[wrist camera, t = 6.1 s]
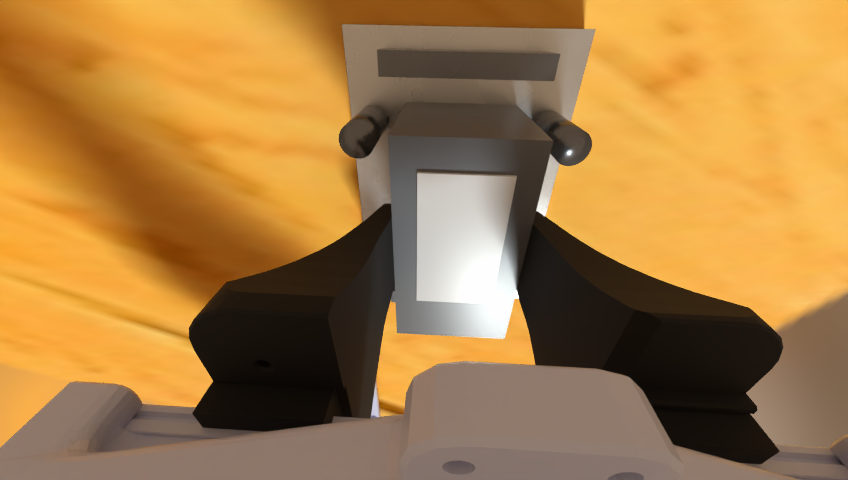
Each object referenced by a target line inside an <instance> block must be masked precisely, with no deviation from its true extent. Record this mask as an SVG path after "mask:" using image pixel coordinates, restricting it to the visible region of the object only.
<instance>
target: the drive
mask: <svg viewBox="0 0 848 480" xmlns="http://www.w3.org/2000/svg"><path fill="white" fill-rule="evenodd" d="M552 145H553V140H552V139H551V138H550V137H549V136H548V135H547V134H546V133H545V132H544V131H543V130H542V129H541V128H540V127H539V126H538V125H537V124H536V123H535V122H534V121H533V120H532V119H531V118H530V117H529V116H528V115H526V114H525V113H524V112H523V111H522V110H521V109H520V108H519V107H518V106H517V105H507V104H472V103H436V102H406V103H405V105H404V107H403V109H402V111H401V113H400V114H399V116H398V118H397V120H396V122H395V124H394V125H393V127H392V129H391V131H390V133H389V134H388V146H389V168H390V189H391V211H392V233H393V254H394V276H395V297H396V319H397V333H407V334H425V335H444V336H462V337H481V338H500V339H505V335H506V331H507V327H508V323H509V319H510V315H511V311H512V307H513V303H514V298H515V294H516V290H517V286H518V282H519V278H520V274H521V270H522V265H523V261H524V257H525V253H526V249H527V245H528V241H529V237H530V233H531V229H532V225H533V222H534V218H535V214H536V210H537V206H538V202H539V198H540V194H541V190H542V185H543V181H544V177H545V173H546V169H547V165H548V161H549V157H550V153H551V149H552Z"/></svg>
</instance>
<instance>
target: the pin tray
mask: <svg viewBox="0 0 848 480" xmlns="http://www.w3.org/2000/svg"><path fill="white" fill-rule="evenodd" d="M342 32H343V41H344V50H345V60H346V69H347V78H348V88H349V97H350V107H351V116H352V119H351V120H350V121H349V122H348V123H347V124H346V125H345V126H344V127H343V128H342V129H341V131H340V134H339V143H340V146H341V148H342V150H343V151H344V152H345V153H346V154H347V155H349V156H350V157H353V158H356V163H357V172H358V181H359V191H360V200H361V209H362V219H363V221H365V220H366V219H367V218H368V217H369V216H371V215H372V214H373V213H374V212H375V211H376V210H377V209H379V208H380V207H381V206H382V205H383V204H384V203H387V204H391V189H390V168H389V146H388V134H389V133H390V131H391V129H392V127H393V125H394V124H395V122H396V120H397V118H398V116H399V114H400V113H401V111H402V109H403V107H404V105H405V103H406V102H436V103H472V104H507V105H517V106H518V107H519V108H520V109H521V110H522V111H523V112H524V113H525V114H526V115H528V116H529V117H530V118H531V119H532V120H533V121H534V122H535V123H536V124H537V125H538V126H539V127H540V128H541V129H542V130H543V131H544V132H545V133H546V134H547V135H548V136H549V137H550V138H551V139H552V140H553V145H552V149H551V153H550V157H549V161H548V165H547V169H546V173H545V177H544V181H543V185H542V190H541V194H540V198H539V202H538V206H537V210H536V211H538V212H539V213H541V214H542V215H544V216H545V215H546V211H547V208H548V204H549V200H550V197H551V193H552V189H553V185H554V182H555V178H556V174H557V171H558V167H559V163H560V164H561V165H565V166H572V165H576V164H578V163H580V162H581V161H583V160H584V159H585V158H586V157H587V156H588V154H589V152H590V150H591V147H592V140H591V137H590V136H589V134H588V133H587V132H585V131H584V130H582V129H581V128H579V127H578V126H576V125H575V124H573V123H572V122H571V119H572V115H573V111H574V107H575V104H576V100H577V96H578V92H579V89H580V85H581V81H582V78H583V74H584V70H585V66H586V63H587V59H588V55H589V52H590V48H591V44H592V40H593V37H594V33H595V29H557V28H507V27H457V26H408V25H358V24H342ZM515 298H519V297H518V294H517V291H516V294H515ZM391 302H396V297H395V286H394V289H393V293H392V297H391Z"/></svg>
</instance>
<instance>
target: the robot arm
mask: <svg viewBox="0 0 848 480" xmlns="http://www.w3.org/2000/svg"><path fill="white" fill-rule="evenodd" d="M394 286H395V276H394V254H393V233H392V211H391V204H387V203H384V204H383V205H382V206H381V207H380V208H379V209H377V210H376V211H375V212H374V213H373V214H372V215H371V216H369V217H368V218H367V219H366V220H365V221H363V222H362V223H361V224H360V225H358V226H357V227H356V228H354V229H353V230H352V231H350V232H349V233H347V234H346V235H345V236H343V237H342V238H340V239H339V240H337V241H335V242H334V243H332V244H330V245H328V246H327V247H325V248H323V249H321V250H319V251H317V252H315V253H313V254H311V255H308V256H306V257H304V258H302V259H300V260H297V261H295V262H292V263H290V264H287V265H284V266H281V267H279V268H276V269H273V270H270V271H266V272H263V273H260V274H256V275H252V276H248V277H245V278H241V279H237V280H233V281H229V282H226V283H225V284H224V285H223V287H222V288H221V289H220V290H219V291H218V292H217V293H216V295H215V296H214V297H213V298H212V299H211V300H210V301H209V303H208V304H207V305H206V306H205V307H204V308H203V309H202V311H201V312H200V313H199V314H198V315H197V316H196V317H195V319H194V320H193V322H192V324H191V325H190V327H189V339H190V341H191V344H192V346H193V348H194V351H195V352H196V354H197V355H198V357H199V359H200V360H201V362H202V363H203V365H204V367H205V368H206V370H207V371H208V373H209V375H210V376H211V378H212V379H213V382H212V384H211V385H210V387H209V388H208V390H207V391H206V393H205V394H204V396H203V398H202V399H201V401H200V402H199V404H198V405H197V407H196V408H195V407H179V406H163V405H148V404H142V401H141V400H140V398H139V397H138V395H137V394H136V393H135V392H134V391H132V390H131V389H130V388H127V387H125V386H123V385H118V384H111V383H95V382H78V381H76V382H71V383H69V384H68V385H67V386H66V387H65V388H64V389H63V390H62V391H60V392H59V393H58V394H57V395H56V396H55V397H54V398H53V399H52V400H51V401H50V402H49V403H48V404H47V405H46V406H44V407H43V408H42V409H41V410H40V411H39V412H38V413H37V414H36V415H35V416H34V417H33V418H32V419H30V420H29V421H28V422H27V423H26V424H25V425H24V426H23V427H22V428H21V429H20V430H19V431H18V432H17V433H15V434H14V435H13V436H12V437H11V438H10V439H9V440H8V441H7V442H6V443H5V444H4V445H3V446H2V447H1V448H0V480H848V434H847V435H845V436H843V437H841V438H840V439H838V440H837V441H835V442H834V443H833V444H832V445H831V447H830V448H824V447H808V446H791V445H776V444H774V443H773V442H772V441H771V439H770V438H769V437H768V436H767V434H766V433H765V432H764V431H763V429H762V428H761V427H760V426H759V424H758V423H757V422H756V421H755V419H754V418H753V417H752V416H751V415H750V413H751V414H754V413H755V412H756V411H757V406H756V405H755V404H754V402H753V401H752V400H751V399H750V398H749V396H748V395H747V394H746V392H747V391H748V390H750V389H751V388H752V387H753V386H754V385H755V384H756V383H757V382H758V381H759V380H760V379H761V378H762V377H763V376H764V375H766V374H767V373H768V372H769V371H770V370H771V369H772V368H773V366H774V365H775V364H776V363H777V362H778V360H779V358H780V355H781V353H782V349H783V344H782V339H781V337H780V336H779V335H778V334H777V333H776V332H775V331H774V330H773V329H772V328H771V327H770V326H769V325H768V324H767V323H766V322H765V321H763V320H762V319H761V318H760V317H759V316H758V315H757V314H756V313H755V312H754V311H752V310H751V309H750V308H748V307H744V306H741V305H737V304H734V303H730V302H727V301H723V300H720V299H716V298H712V297H709V296H705V295H702V294H699V293H695V292H692V291H689V290H686V289H683V288H681V287H678V286H675V285H672V284H669V283H666V282H664V281H661V280H658V279H656V278H653V277H651V276H648V275H646V274H643V273H641V272H639V271H636V270H634V269H632V268H629V267H627V266H625V265H623V264H621V263H619V262H617V261H615V260H613V259H611V258H609V257H607V256H605V255H603V254H601V253H600V252H598V251H596V250H594V249H593V248H591V247H589V246H588V245H586V244H585V243H583V242H581V241H580V240H578V239H577V238H575V237H574V236H572V235H571V234H569V233H568V232H566V231H565V230H563V229H562V228H561V227H559V226H558V225H556V224H555V223H554V222H552V221H551V220H549V219H548V218H547V217H545V216H544V215H542V214H541V213H539V212H538V211H536V214H535V218H534V222H533V225H532V229H531V233H530V237H529V241H528V245H527V249H526V253H525V257H524V261H523V265H522V270H521V274H520V278H519V282H518V286H517V290H516V291H517V294H518V297H519V300H520V304H521V307H522V310H523V313H524V316H525V319H526V322H527V326H528V330H529V333H530V338H531V343H532V348H533V353H534V359H535V364H536V365H523V364H506V363H488V362H470V361H462V362H453V363H443V364H437V365H435V366H433V367H432V368H430V369H428V370H426V371H424V372H422V373H420V374H418V375H417V376H415V377H414V378H413V380H412V382H411V384H410V386H409V388H408V390H407V393H406V401H405V411H404V414H400V415H392V416H384V417H380V409H379V400H378V392H377V383H376V375H377V369H378V362H379V355H380V348H381V342H382V336H383V329H384V324H385V319H386V315H387V311H388V308H389V304H390V300H391V297H392V293H393V289H394Z"/></svg>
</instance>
